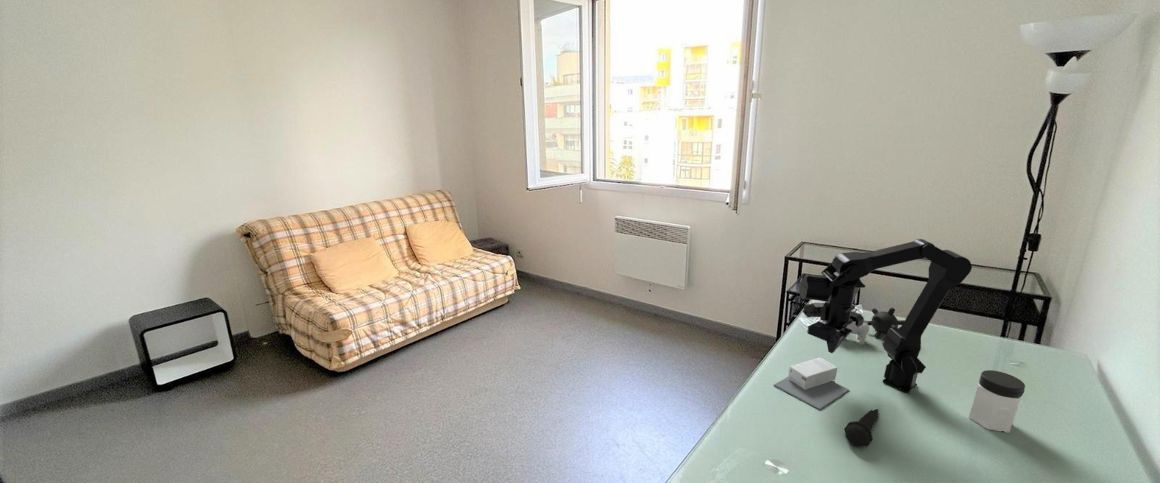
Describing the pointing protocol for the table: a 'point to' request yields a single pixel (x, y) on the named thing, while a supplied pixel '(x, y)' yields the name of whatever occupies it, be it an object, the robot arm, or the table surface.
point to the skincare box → (812, 373)
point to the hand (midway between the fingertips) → (830, 352)
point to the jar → (996, 400)
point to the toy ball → (884, 321)
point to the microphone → (861, 429)
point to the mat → (813, 392)
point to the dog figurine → (859, 330)
